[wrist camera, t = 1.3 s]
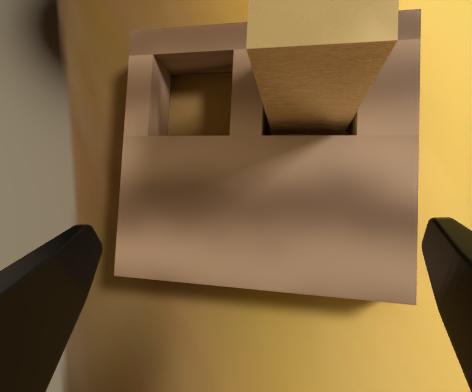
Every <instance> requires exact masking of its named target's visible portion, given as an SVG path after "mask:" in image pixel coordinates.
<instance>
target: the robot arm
mask: <svg viewBox="0 0 472 392" xmlns="http://www.w3.org/2000/svg"><path fill="white" fill-rule="evenodd" d="M102 250H103V247H102V243H101V241H100V240H99V238H98V236H97V234H96V233H95V231H94V229H93V227H92V226H90V225H87V224H86V225H75V226H73V227H71V228H70V229H68V230H66V231H65V232H63V233H61V234H60V235H58V236H57V237H55V238H53V239H52V240H50V241H48V242H47V243H45V244H44V245H42V246H40V247H39V248H37V249H35V250H34V251H32V252H30V253H29V254H27V255H26V256H24V257H22V258H21V259H19V260H17V261H16V262H14V263H13V264H11V265H9V266H8V267H6V268H4V269H3V270H1V271H0V392H46V389H47V387H48V385H49V383H50V380H51V378H52V376H53V374H54V371H55V369H56V367H57V365H58V362H59V360H60V358H61V356H62V353H63V351H64V349H65V347H66V344H67V342H68V340H69V338H70V335H71V333H72V331H73V329H74V326H75V324H76V322H77V320H78V317H79V315H80V313H81V311H82V308H83V306H84V304H85V301H86V299H87V296H88V293H89V291H90V288H91V285H92V281H93V278H94V275H95V272H96V269H97V266H98V263H99V260H100V257H101V254H102ZM422 252H423V256H424V259H425V263H426V267H427V271H428V274H429V278H430V282H431V285H432V289H433V293H434V296H435V300H436V304H437V307H438V310H439V313H440V316H441V318H442V321H443V323H444V326H445V328H446V331H447V333H448V336H449V338H450V341H451V343H452V346H453V348H454V351H455V353H456V355H457V358H458V360H459V363H460V365H461V368H462V370H463V373H464V375H465V378H466V380H467V383H468V385H469V388H470V390H471V392H472V231H471V230H470V229H468V228H467V227H465V226H463V225H462V224H460V223H459V222H457V221H456V220H454V219H452V218H449V217H437V218H431V219H430V220H429V222H428V224H427V228H426V231H425V234H424V238H423V241H422Z"/></svg>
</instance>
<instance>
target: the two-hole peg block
mask: <svg viewBox="0 0 472 392" xmlns="http://www.w3.org/2000/svg"><path fill="white" fill-rule="evenodd" d="M420 36H421V9H414V10H401V11H398V41H397V42H396V44H395V46H394V48H393V49H392V51H391V53H390V55H389V56H388V58H387V60H386V62H385V63H384V65H383V67H382V68H381V70H380V72H379V74H378V75H377V77H376V79H375V81H374V82H373V84H372V86H371V88H370V89H369V91H368V93H367V95H366V96H365V98H364V100H363V102H362V103H361V105H360V107H359V108H358V110H357V112H356V114H355V115H354V117H353V119H352V121H351V122H350V124H349V135H280V136H267V116H266V113H265V109H264V106H263V103H262V99H261V96H260V93H259V89H258V86H257V83H256V80H255V76H254V73H253V70H252V66H251V63H250V60H249V57H248V53H247V50H246V43H247V22H241V23H228V24H215V25H201V26H188V27H175V28H161V29H148V30H135V31H131V36H130V50H129V65H128V79H127V94H126V108H125V122H124V137H123V151H122V165H121V180H120V194H119V209H118V223H117V237H116V252H115V266H114V276H121V277H131V278H142V279H152V280H162V281H173V282H183V283H193V284H203V285H214V286H224V287H234V288H245V289H255V290H265V291H275V292H286V293H296V294H306V295H317V296H327V297H337V298H347V299H358V300H368V301H378V302H389V303H399V304H409V305H416V285H417V223H418V160H419V98H420ZM220 72H233V74H232V94H231V114H230V134H229V136H167V132H168V116H169V100H170V84H171V75H173V74H197V73H220Z"/></svg>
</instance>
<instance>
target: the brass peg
mask: <svg viewBox="0 0 472 392" xmlns="http://www.w3.org/2000/svg"><path fill="white" fill-rule="evenodd" d="M398 3H399V0H249V1H248V22H247V43H246V50H247V53H248V57H249V60H250V63H251V66H252V70H253V73H254V76H255V80H256V83H257V86H258V89H259V93H260V96H261V99H262V103H263V106H264V109H265V113H266V116H267V119H268V122H269V126H270V129H271V132H272V136H280V135H344V133H345V131H346V129H347V128H348V126H349V124H350V122H351V121H352V119H353V117H354V115H355V114H356V112H357V110H358V108H359V107H360V105H361V103H362V102H363V100H364V98H365V96H366V95H367V93H368V91H369V89H370V88H371V86H372V84H373V82H374V81H375V79H376V77H377V75H378V74H379V72H380V70H381V68H382V67H383V65H384V63H385V62H386V60H387V58H388V56H389V55H390V53H391V51H392V49H393V48H394V46H395V44H396V42H397V41H398Z"/></svg>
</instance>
